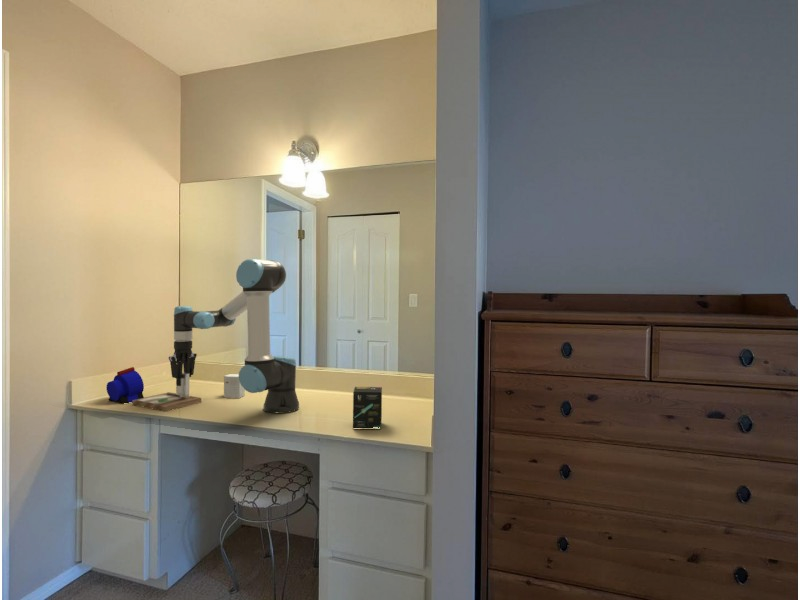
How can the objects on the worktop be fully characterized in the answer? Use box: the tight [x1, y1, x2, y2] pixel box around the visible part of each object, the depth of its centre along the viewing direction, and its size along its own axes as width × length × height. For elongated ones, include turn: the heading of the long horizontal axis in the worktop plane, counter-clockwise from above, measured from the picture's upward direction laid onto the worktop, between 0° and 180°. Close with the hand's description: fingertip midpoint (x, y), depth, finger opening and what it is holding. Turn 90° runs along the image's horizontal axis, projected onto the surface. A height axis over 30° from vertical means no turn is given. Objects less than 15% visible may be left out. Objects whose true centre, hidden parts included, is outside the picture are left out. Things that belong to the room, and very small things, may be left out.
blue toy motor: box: [106, 366, 145, 405], centre depth 207 cm, size 12×12×15 cm
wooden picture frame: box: [132, 391, 202, 412], centre depth 204 cm, size 22×18×2 cm
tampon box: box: [352, 386, 383, 429], centre depth 176 cm, size 11×9×15 cm
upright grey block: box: [166, 372, 190, 398], centre depth 207 cm, size 13×2×11 cm, turn 64°
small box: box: [223, 373, 246, 399], centre depth 219 cm, size 8×6×10 cm
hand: (182, 392), depth 205 cm, fingers closed on upright grey block, 2 cm apart
